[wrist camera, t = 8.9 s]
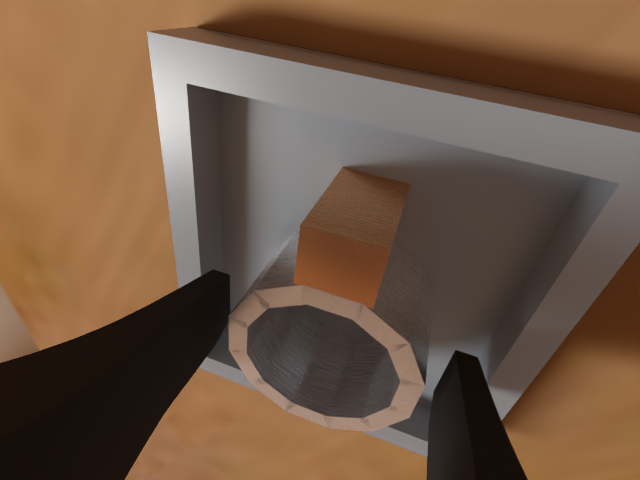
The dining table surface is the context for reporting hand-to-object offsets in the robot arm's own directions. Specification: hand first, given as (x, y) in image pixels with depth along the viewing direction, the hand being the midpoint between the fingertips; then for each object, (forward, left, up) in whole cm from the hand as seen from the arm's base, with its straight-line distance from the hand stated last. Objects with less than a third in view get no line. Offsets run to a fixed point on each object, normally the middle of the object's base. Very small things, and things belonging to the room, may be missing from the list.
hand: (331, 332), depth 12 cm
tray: (0, -1, -3) cm, 3 cm away
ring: (0, 0, -2) cm, 2 cm away
